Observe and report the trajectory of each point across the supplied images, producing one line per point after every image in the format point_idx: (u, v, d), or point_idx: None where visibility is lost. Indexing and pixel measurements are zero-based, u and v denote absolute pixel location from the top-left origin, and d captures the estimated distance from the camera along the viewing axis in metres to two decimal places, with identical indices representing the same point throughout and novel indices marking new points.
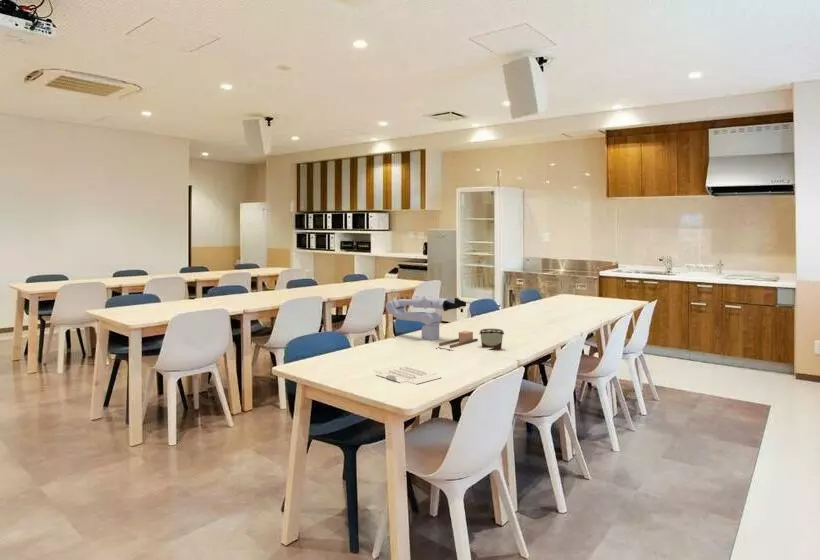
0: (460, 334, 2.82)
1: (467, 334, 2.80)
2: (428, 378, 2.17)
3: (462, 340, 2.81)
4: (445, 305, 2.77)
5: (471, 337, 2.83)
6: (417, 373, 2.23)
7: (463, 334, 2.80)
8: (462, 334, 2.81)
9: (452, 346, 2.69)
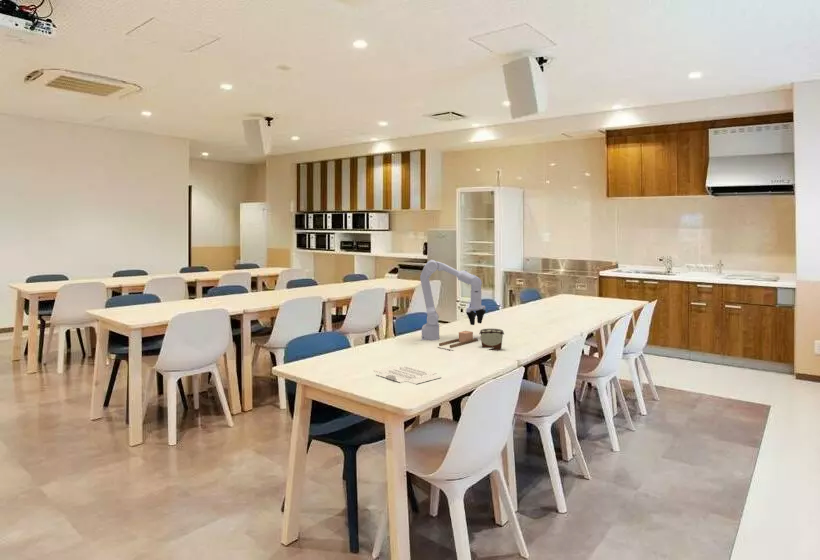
0: (460, 334, 2.82)
1: (467, 334, 2.80)
2: (428, 378, 2.17)
3: (462, 340, 2.81)
4: None
5: (471, 337, 2.83)
6: (417, 373, 2.23)
7: (463, 334, 2.80)
8: (462, 334, 2.81)
9: (452, 346, 2.69)
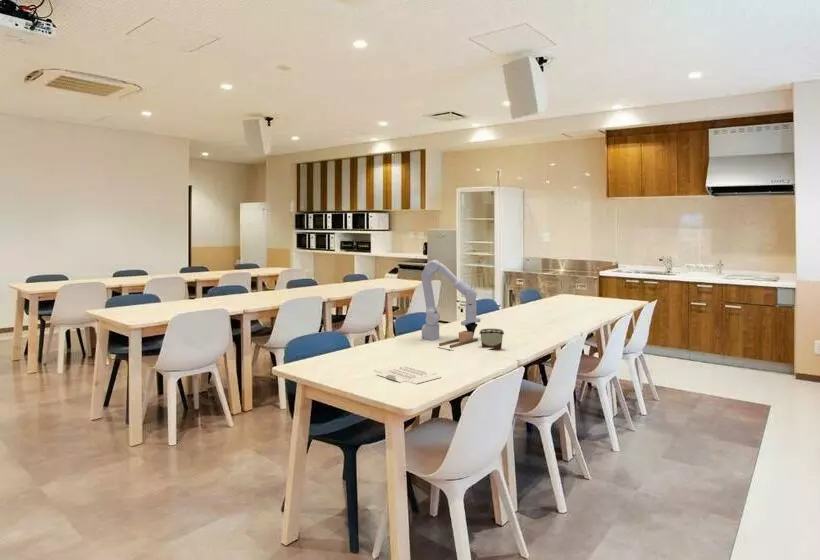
0: (460, 334, 2.81)
1: (467, 334, 2.80)
2: (428, 378, 2.17)
3: (462, 340, 2.81)
4: None
5: (471, 337, 2.83)
6: (417, 373, 2.23)
7: (463, 334, 2.80)
8: (462, 334, 2.81)
9: (452, 346, 2.69)
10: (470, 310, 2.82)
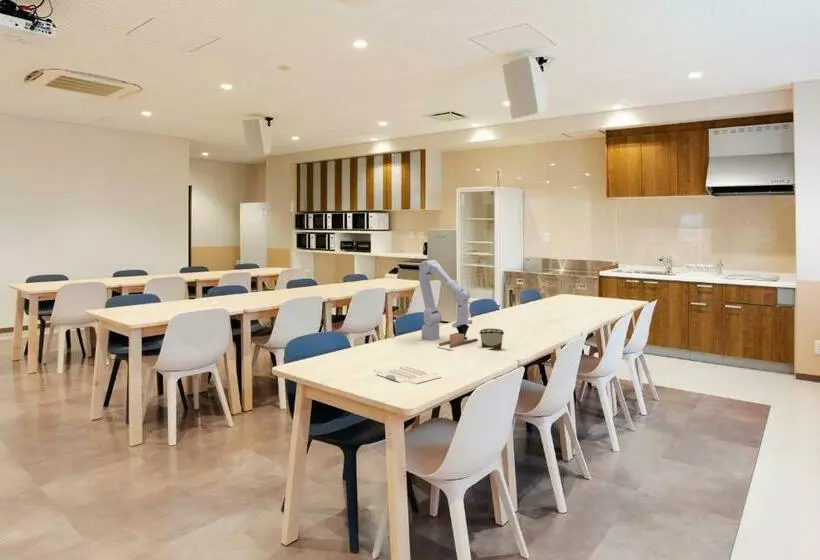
0: (451, 336, 2.76)
1: (458, 336, 2.75)
2: (428, 378, 2.17)
3: (453, 342, 2.76)
4: None
5: (463, 339, 2.78)
6: (417, 373, 2.23)
7: (455, 336, 2.75)
8: (453, 336, 2.75)
9: (452, 346, 2.69)
10: (459, 312, 2.77)
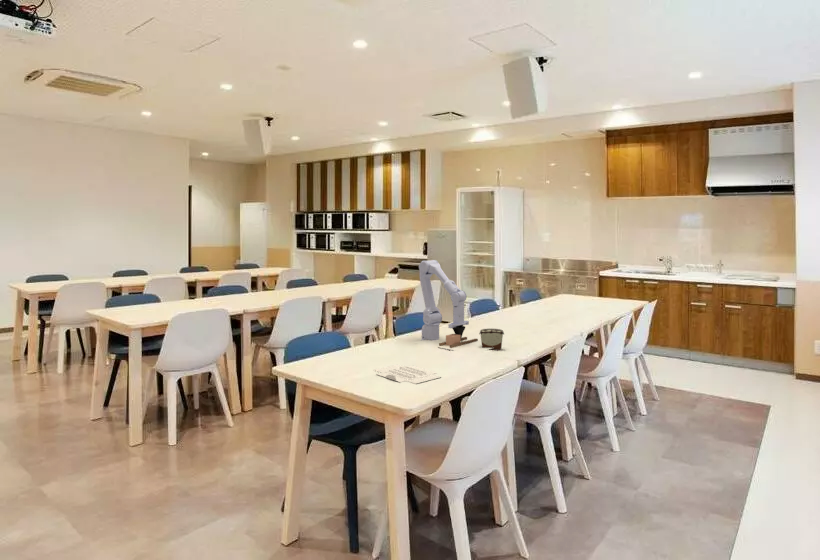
0: (447, 337, 2.74)
1: (454, 337, 2.72)
2: (428, 378, 2.17)
3: (449, 343, 2.73)
4: None
5: (459, 340, 2.75)
6: (417, 373, 2.23)
7: (451, 337, 2.72)
8: (449, 337, 2.73)
9: (452, 346, 2.69)
10: (455, 312, 2.75)
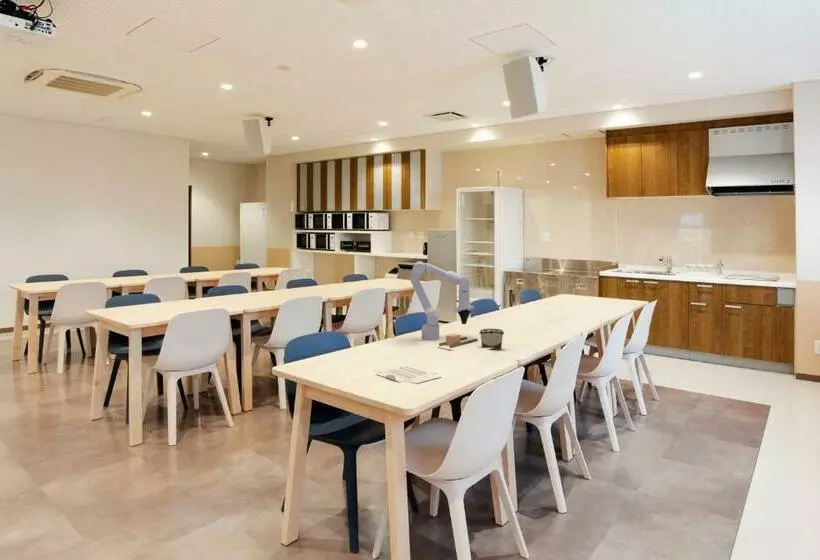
0: (447, 337, 2.74)
1: (454, 337, 2.72)
2: (428, 378, 2.18)
3: (449, 343, 2.73)
4: (462, 312, 2.88)
5: (459, 340, 2.75)
6: (417, 373, 2.24)
7: (451, 337, 2.72)
8: (449, 337, 2.73)
9: (452, 346, 2.69)
10: (464, 297, 2.86)
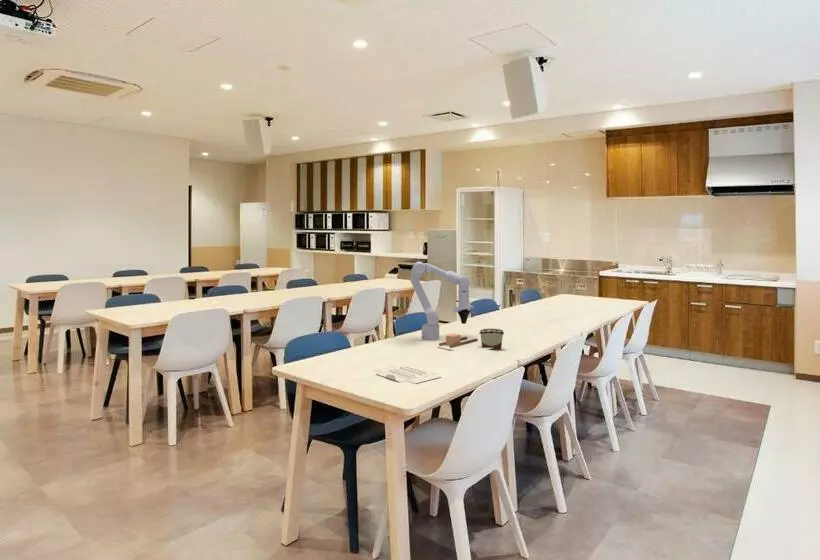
0: (447, 337, 2.74)
1: (454, 337, 2.72)
2: (428, 378, 2.18)
3: (449, 343, 2.73)
4: (462, 312, 2.89)
5: (459, 340, 2.75)
6: (417, 373, 2.24)
7: (451, 337, 2.72)
8: (449, 337, 2.73)
9: (452, 346, 2.69)
10: (464, 297, 2.87)
